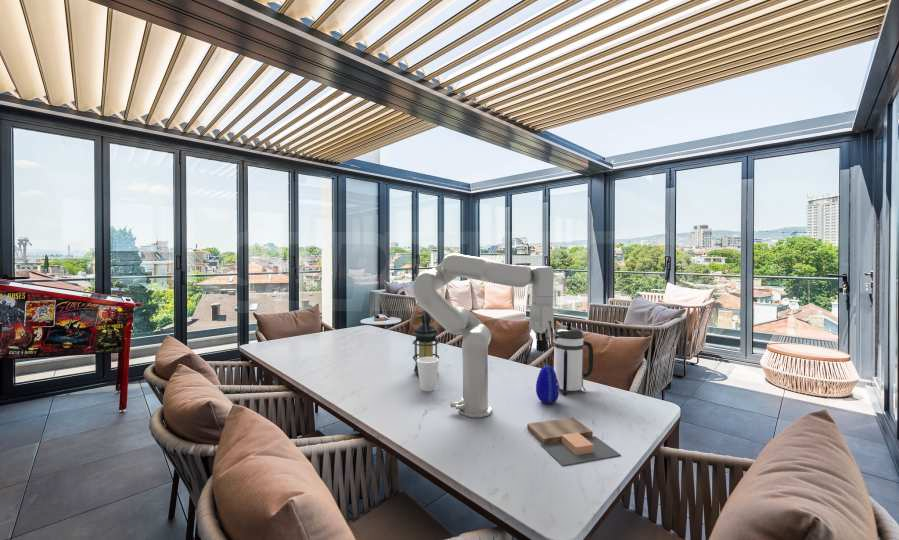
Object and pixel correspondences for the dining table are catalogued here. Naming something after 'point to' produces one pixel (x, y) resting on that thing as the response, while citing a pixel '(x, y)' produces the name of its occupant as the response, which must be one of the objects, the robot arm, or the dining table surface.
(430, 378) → the foam cup
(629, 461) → the dining table surface
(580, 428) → the deck
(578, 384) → the coffee press
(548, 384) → the ornament
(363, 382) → the dining table surface
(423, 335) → the lantern
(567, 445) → the tile
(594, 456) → the mat
